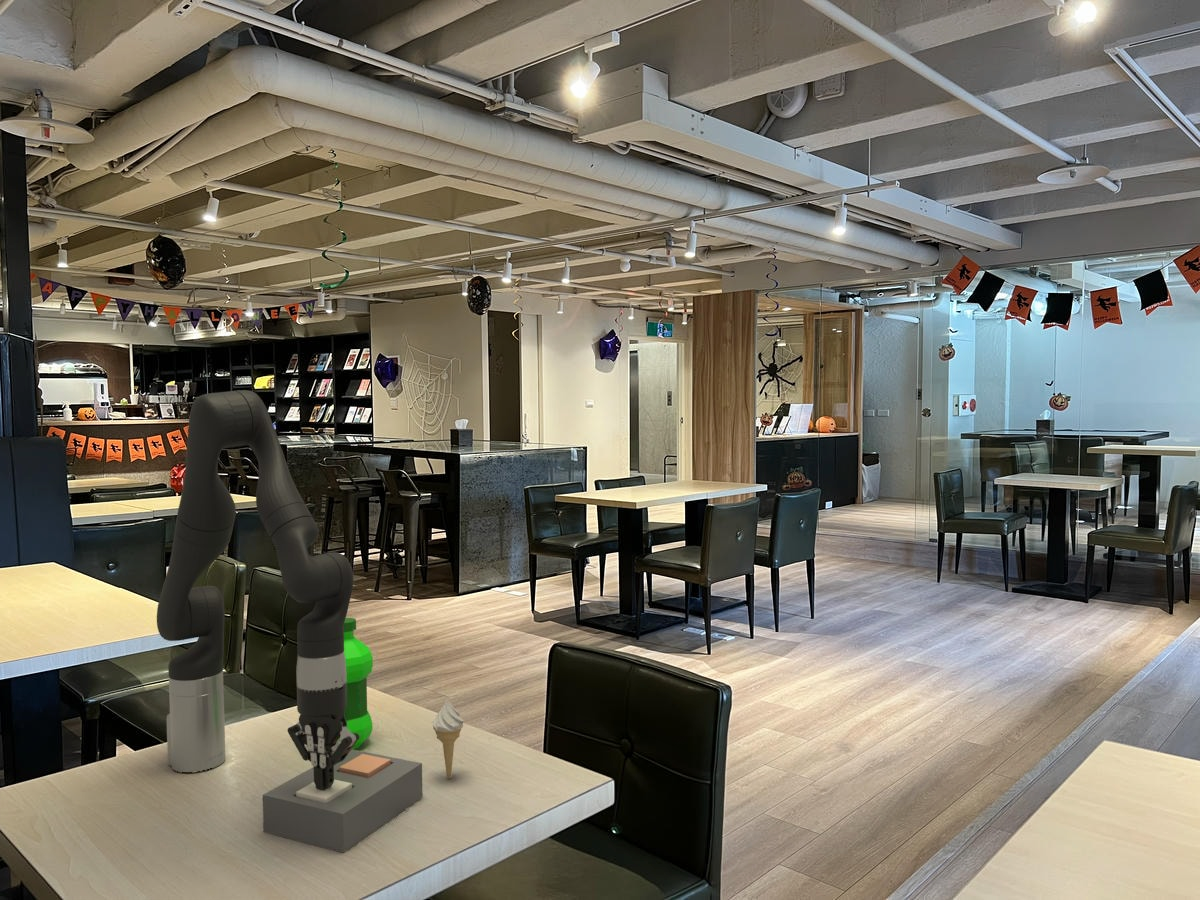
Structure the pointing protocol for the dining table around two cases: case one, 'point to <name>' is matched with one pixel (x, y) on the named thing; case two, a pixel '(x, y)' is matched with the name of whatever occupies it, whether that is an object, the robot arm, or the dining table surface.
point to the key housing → (343, 805)
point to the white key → (324, 791)
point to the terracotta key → (365, 765)
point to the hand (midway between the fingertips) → (324, 787)
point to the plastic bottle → (357, 683)
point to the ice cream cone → (448, 731)
